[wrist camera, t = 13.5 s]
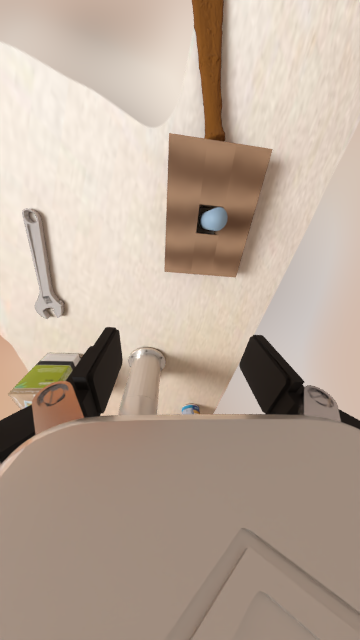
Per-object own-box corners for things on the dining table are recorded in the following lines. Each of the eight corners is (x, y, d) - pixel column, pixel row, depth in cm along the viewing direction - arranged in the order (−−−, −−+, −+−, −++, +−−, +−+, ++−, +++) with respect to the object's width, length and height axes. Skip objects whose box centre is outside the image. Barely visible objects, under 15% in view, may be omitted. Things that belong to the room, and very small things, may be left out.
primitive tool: (177, -95, 16) (179, -166, 13) (228, -114, 16) (241, -192, 13) (201, 155, 27) (205, 146, 24) (232, 146, 26) (240, 136, 23)
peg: (211, 229, 32) (224, 231, 24) (197, 228, 32) (206, 229, 24) (214, 212, 31) (229, 208, 22) (199, 211, 30) (209, 206, 22)
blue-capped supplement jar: (183, 402, 68) (187, 461, 51) (201, 403, 69) (210, 461, 52) (179, 411, 72) (181, 469, 55) (196, 413, 73) (203, 469, 57)
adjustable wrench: (26, 206, 29) (18, 205, 28) (63, 220, 31) (57, 219, 29) (40, 312, 41) (35, 316, 40) (66, 318, 43) (62, 322, 41)
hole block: (230, 272, 37) (235, 277, 34) (165, 267, 36) (164, 271, 33) (259, 158, 27) (272, 149, 23) (169, 145, 25) (169, 133, 22)
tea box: (90, 381, 57) (67, 424, 45) (62, 380, 57) (31, 425, 44) (79, 352, 49) (48, 395, 37) (47, 351, 49) (3, 395, 36)
